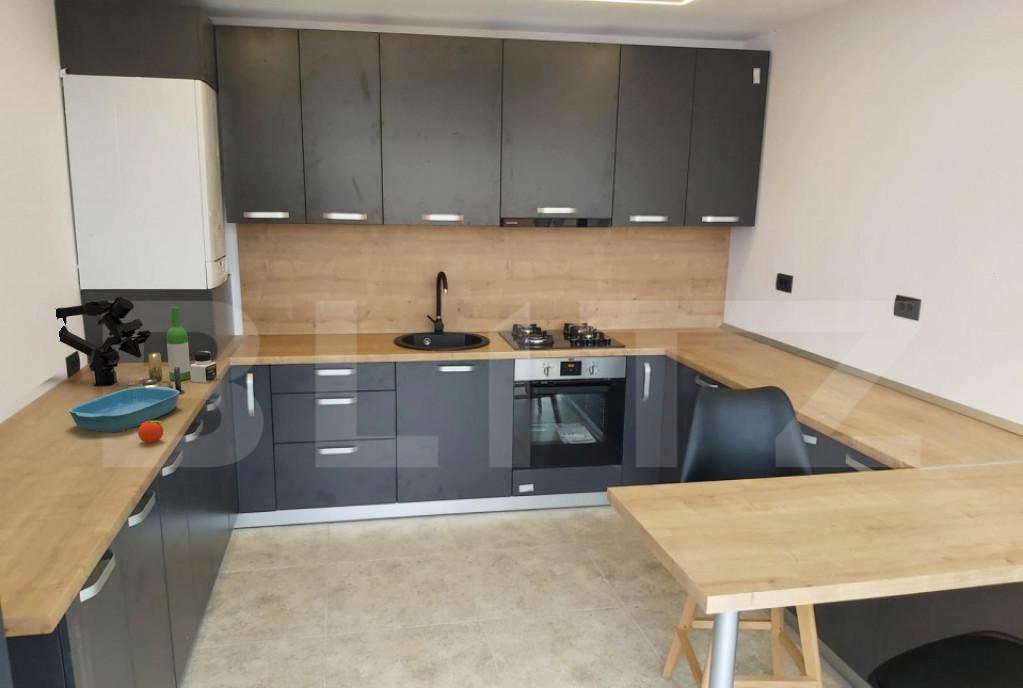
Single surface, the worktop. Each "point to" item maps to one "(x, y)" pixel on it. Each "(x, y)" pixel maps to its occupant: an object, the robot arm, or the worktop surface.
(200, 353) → the medicine bottle
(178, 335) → the wine bottle
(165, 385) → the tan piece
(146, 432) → the tomato
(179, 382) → the stop post
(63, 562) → the worktop surface
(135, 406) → the casserole dish
